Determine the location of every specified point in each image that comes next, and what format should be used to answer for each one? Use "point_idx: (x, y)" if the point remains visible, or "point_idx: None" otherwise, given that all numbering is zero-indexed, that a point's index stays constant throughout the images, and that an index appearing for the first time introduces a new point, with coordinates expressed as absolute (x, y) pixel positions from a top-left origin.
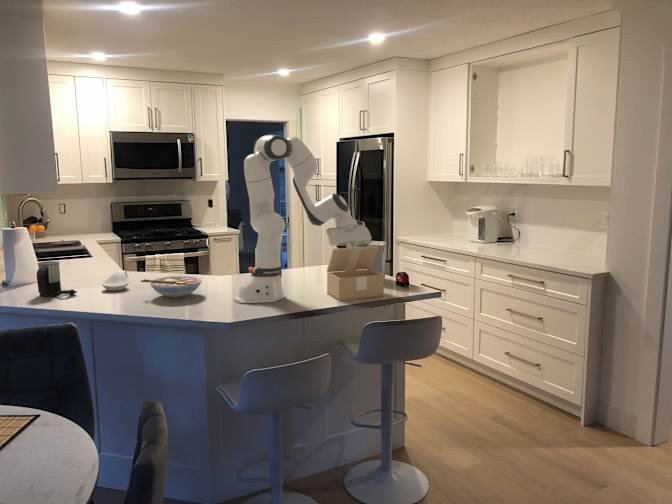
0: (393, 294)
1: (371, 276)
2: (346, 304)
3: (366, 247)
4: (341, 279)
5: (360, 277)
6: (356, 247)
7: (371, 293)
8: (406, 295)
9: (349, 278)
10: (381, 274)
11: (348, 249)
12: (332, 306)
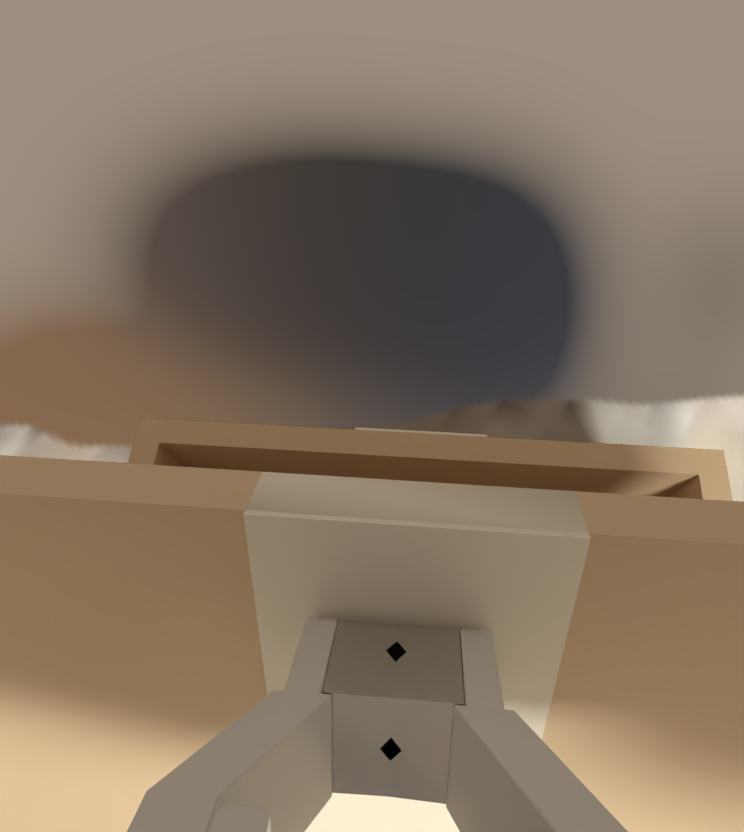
0: None
1: (296, 428)
2: (602, 410)
3: (89, 483)
4: (683, 453)
5: (439, 432)
6: (391, 518)
7: None
8: (37, 452)
9: (579, 445)
10: (144, 451)
11: (671, 499)
12: (727, 403)
